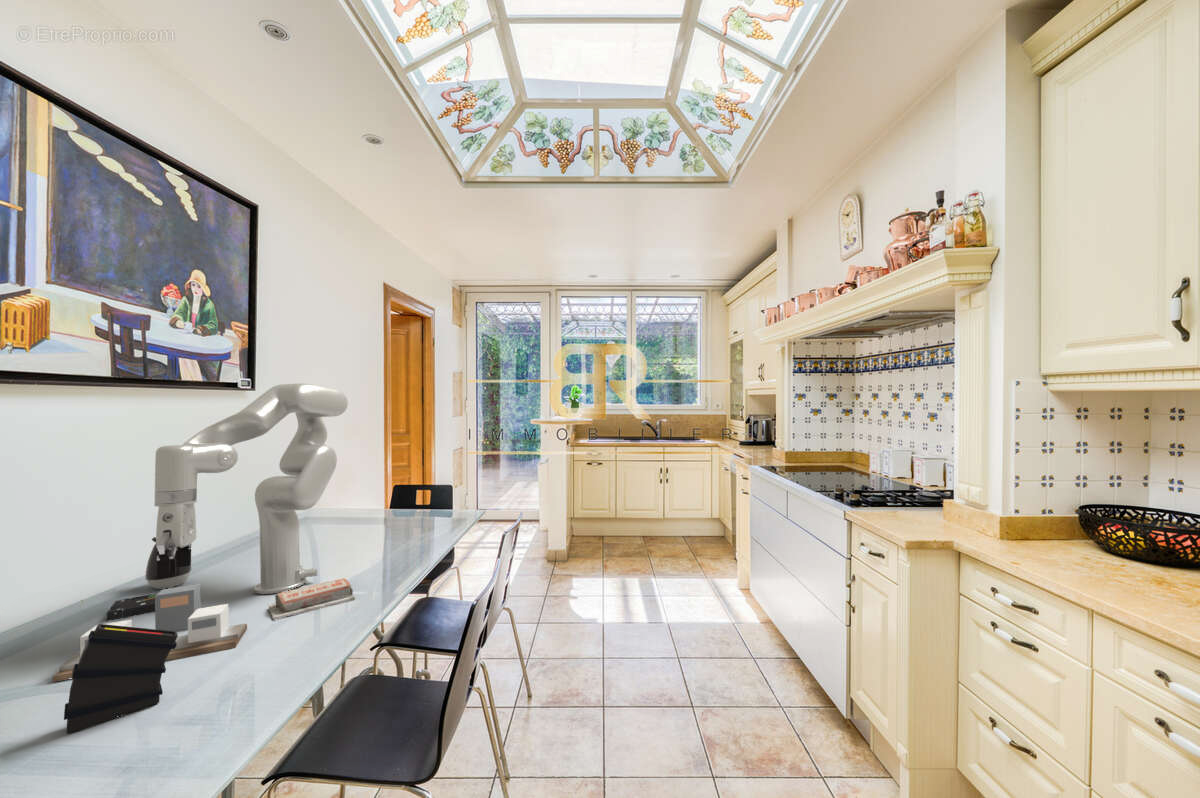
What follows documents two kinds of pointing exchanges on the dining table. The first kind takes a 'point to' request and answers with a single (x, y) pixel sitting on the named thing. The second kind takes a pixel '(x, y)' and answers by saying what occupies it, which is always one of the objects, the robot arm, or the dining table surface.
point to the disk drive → (132, 607)
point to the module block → (176, 607)
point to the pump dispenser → (163, 583)
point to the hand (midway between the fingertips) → (174, 571)
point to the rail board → (176, 649)
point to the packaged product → (311, 598)
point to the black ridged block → (117, 674)
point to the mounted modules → (189, 625)
